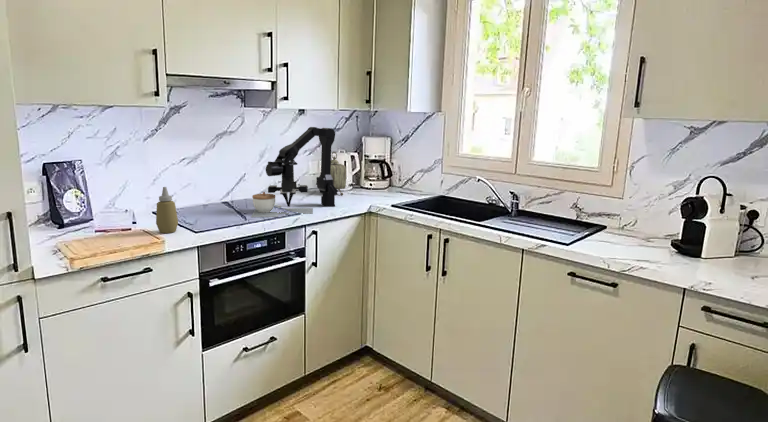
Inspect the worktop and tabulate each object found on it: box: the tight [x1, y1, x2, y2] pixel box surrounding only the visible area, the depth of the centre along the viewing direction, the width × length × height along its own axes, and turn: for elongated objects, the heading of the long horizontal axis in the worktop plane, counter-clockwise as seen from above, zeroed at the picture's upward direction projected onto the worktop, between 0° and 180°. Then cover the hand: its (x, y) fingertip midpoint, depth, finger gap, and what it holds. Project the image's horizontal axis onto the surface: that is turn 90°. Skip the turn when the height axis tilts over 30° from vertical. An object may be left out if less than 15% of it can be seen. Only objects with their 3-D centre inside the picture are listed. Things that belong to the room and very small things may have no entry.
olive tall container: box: [331, 151, 347, 196], centre depth 288 cm, size 14×9×25 cm, turn 30°
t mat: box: [250, 205, 314, 218], centre depth 240 cm, size 28×26×1 cm
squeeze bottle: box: [155, 186, 179, 234], centre depth 195 cm, size 8×8×18 cm
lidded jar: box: [252, 191, 276, 212], centre depth 238 cm, size 11×11×9 cm
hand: (288, 206), depth 240 cm, fingers closed
